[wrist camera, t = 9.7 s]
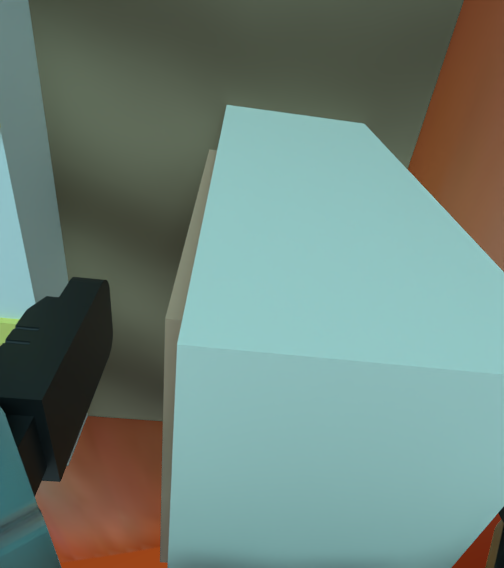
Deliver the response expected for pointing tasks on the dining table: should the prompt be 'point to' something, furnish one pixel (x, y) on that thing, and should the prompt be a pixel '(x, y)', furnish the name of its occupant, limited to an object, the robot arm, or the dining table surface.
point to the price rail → (25, 179)
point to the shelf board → (200, 127)
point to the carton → (327, 361)
